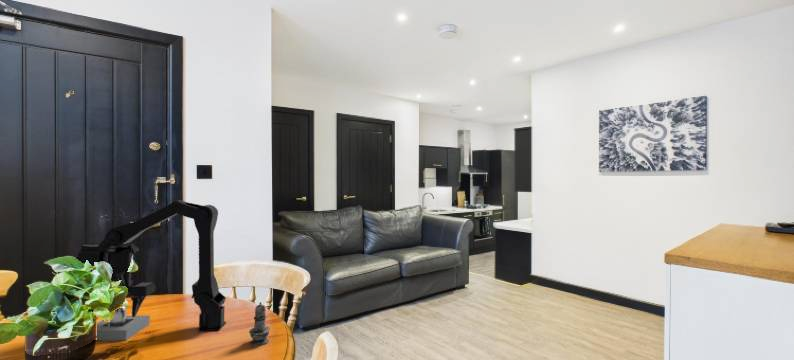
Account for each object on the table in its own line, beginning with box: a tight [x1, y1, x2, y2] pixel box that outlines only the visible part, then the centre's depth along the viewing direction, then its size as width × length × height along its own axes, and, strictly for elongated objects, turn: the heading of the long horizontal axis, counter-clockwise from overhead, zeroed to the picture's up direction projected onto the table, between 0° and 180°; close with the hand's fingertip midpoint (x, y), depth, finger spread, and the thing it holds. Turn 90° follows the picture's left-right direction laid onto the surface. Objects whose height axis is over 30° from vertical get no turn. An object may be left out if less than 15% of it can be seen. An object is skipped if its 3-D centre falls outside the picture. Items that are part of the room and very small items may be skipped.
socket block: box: [96, 315, 151, 342], centre depth 113 cm, size 12×12×3 cm
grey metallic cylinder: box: [110, 304, 127, 327], centre depth 113 cm, size 4×4×8 cm
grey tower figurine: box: [248, 301, 271, 347], centre depth 109 cm, size 6×6×12 cm
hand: (118, 316), depth 113 cm, fingers open, 9 cm apart
